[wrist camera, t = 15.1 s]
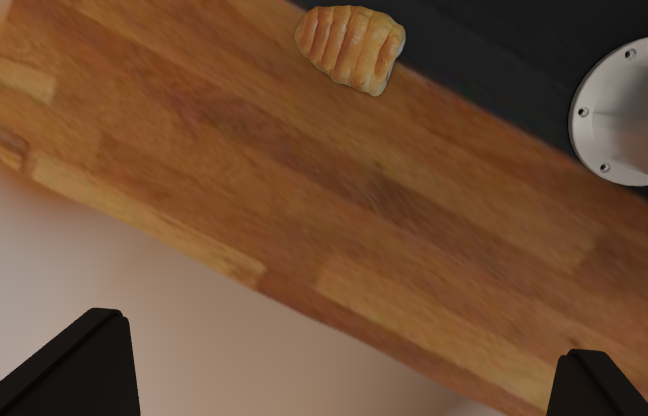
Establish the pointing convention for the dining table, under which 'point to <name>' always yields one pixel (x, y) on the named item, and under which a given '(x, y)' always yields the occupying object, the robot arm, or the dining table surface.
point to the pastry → (351, 45)
